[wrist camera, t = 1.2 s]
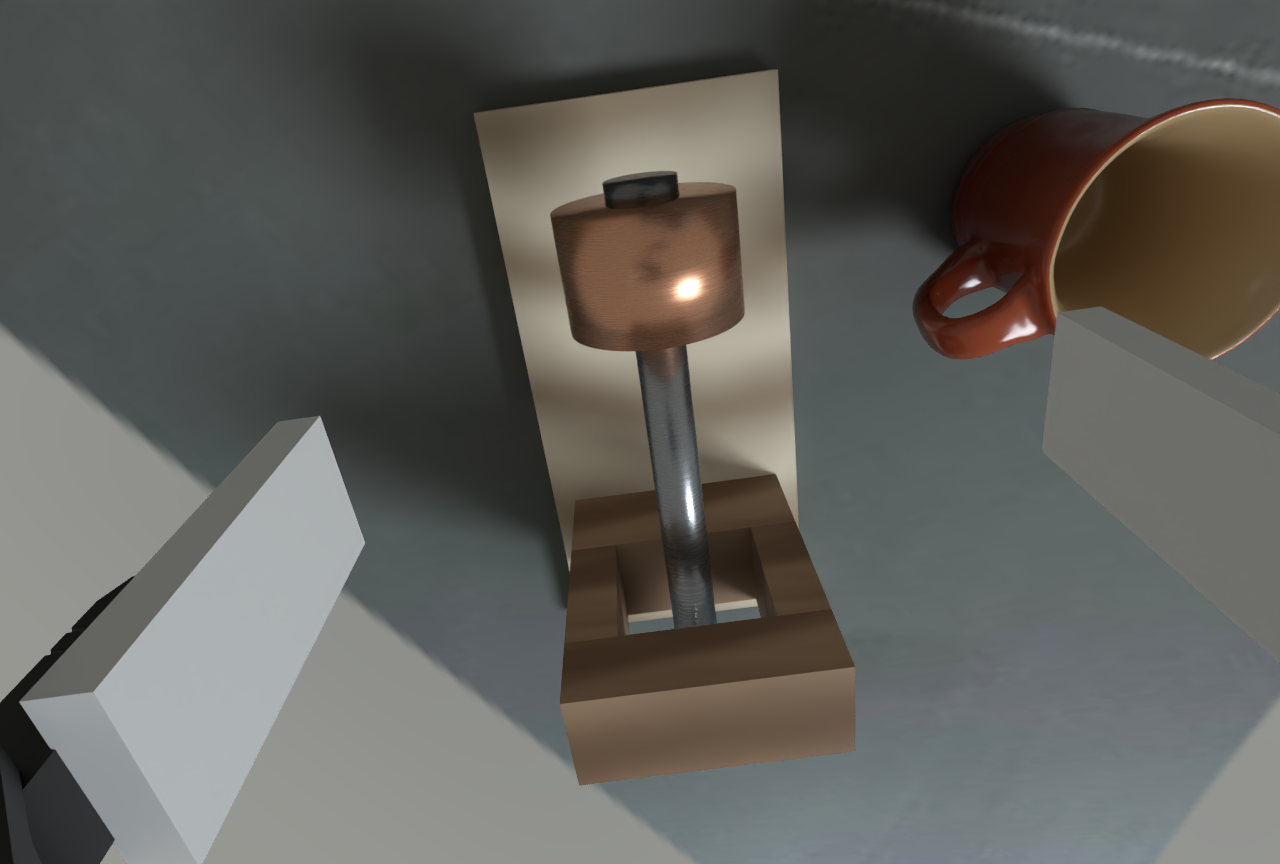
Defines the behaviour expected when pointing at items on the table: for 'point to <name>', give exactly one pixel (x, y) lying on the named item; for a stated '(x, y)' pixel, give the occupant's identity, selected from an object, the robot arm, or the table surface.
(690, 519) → the copper and grey mallet
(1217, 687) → the table surface
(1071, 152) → the mug
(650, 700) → the eye block
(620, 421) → the board
